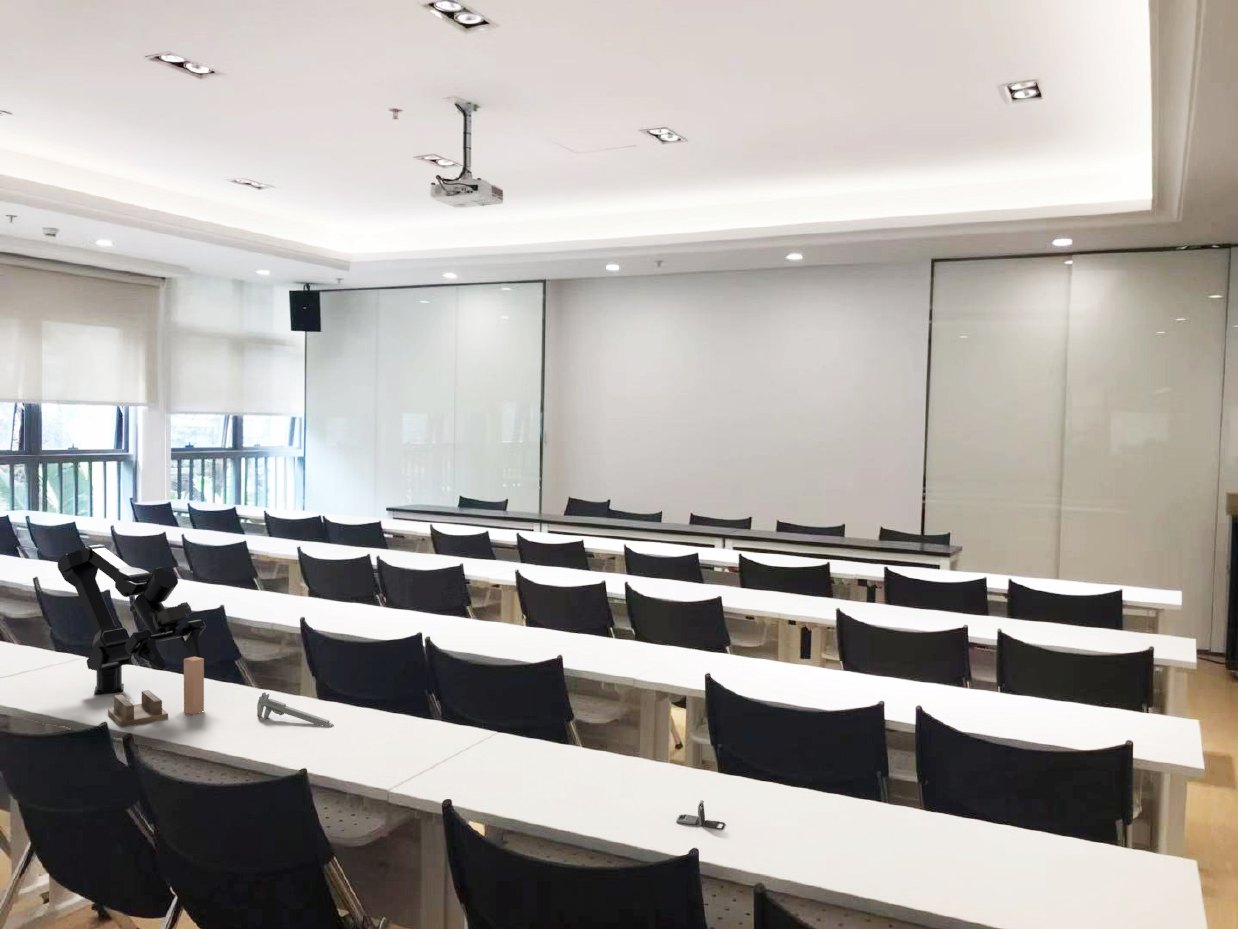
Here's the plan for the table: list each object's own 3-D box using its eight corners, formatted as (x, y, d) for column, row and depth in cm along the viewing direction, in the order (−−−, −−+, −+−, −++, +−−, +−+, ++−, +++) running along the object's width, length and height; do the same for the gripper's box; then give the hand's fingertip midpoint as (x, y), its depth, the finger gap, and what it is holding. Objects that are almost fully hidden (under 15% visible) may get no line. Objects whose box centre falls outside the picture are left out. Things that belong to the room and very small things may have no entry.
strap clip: (675, 825, 165) (675, 802, 164) (679, 818, 168) (679, 795, 167) (722, 832, 162) (723, 808, 162) (725, 825, 165) (726, 802, 165)
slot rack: (108, 714, 219) (107, 696, 219) (153, 706, 226) (153, 688, 226) (121, 727, 210) (121, 708, 210) (168, 718, 217) (168, 700, 217)
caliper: (257, 719, 219) (257, 692, 218) (260, 717, 220) (259, 691, 220) (331, 728, 213) (331, 701, 213) (334, 727, 214) (334, 700, 214)
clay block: (183, 712, 222) (183, 659, 221) (194, 709, 224) (194, 656, 224) (193, 714, 220) (193, 661, 219) (203, 711, 222) (203, 658, 222)
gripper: (131, 599, 218) (161, 651, 213) (201, 587, 234) (230, 636, 229) (111, 628, 222) (140, 680, 217) (181, 615, 238) (209, 663, 233)
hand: (182, 663), depth 224 cm, fingers open, 9 cm apart
